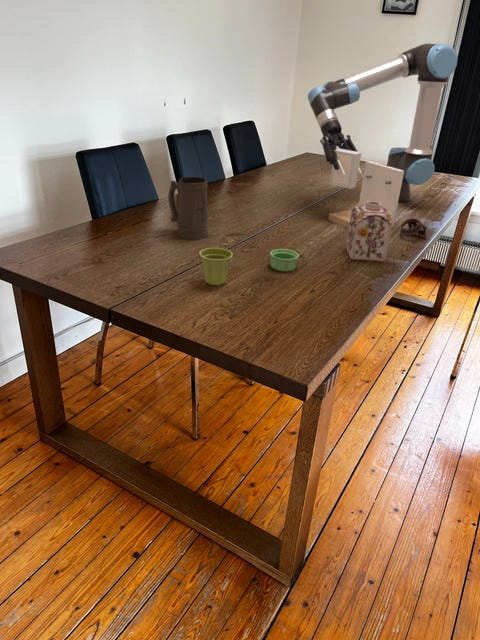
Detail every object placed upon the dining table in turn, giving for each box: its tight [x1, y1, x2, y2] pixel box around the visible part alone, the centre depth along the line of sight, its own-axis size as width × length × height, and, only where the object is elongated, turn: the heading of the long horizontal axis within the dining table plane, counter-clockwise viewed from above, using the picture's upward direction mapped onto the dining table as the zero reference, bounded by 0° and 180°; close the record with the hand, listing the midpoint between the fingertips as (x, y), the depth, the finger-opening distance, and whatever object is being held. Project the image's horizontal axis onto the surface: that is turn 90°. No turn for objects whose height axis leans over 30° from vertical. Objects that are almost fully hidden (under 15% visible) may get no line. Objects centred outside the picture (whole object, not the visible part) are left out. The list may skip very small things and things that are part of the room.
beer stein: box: [167, 176, 209, 240], centre depth 180 cm, size 15×11×20 cm
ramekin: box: [269, 248, 300, 272], centre depth 162 cm, size 9×9×4 cm
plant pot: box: [198, 247, 233, 286], centre depth 148 cm, size 9×9×9 cm
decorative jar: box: [345, 201, 393, 262], centre depth 172 cm, size 12×12×18 cm
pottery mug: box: [399, 217, 427, 240], centre depth 195 cm, size 12×10×8 cm
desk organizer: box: [328, 160, 404, 229], centre depth 201 cm, size 18×18×22 cm
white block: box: [329, 148, 362, 190], centre depth 200 cm, size 5×9×13 cm, turn 55°
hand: (350, 175), depth 199 cm, fingers closed on white block, 8 cm apart
